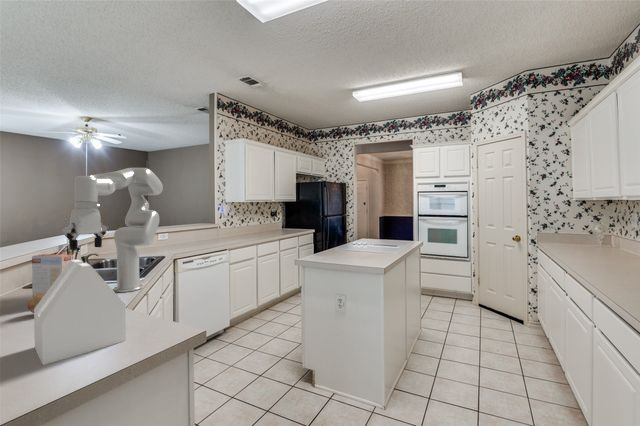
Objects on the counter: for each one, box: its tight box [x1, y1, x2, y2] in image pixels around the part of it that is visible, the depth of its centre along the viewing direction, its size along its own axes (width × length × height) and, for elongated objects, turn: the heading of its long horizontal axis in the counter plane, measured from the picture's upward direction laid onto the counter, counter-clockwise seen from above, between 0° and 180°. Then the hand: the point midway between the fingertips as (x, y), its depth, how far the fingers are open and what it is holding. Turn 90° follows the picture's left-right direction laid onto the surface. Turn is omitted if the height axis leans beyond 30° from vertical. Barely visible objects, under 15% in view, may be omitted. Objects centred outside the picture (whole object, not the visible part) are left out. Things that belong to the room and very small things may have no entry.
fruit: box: [27, 294, 45, 314], centre depth 117 cm, size 8×8×8 cm
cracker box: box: [31, 253, 74, 299], centre depth 132 cm, size 14×6×21 cm, turn 84°
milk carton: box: [33, 259, 127, 366], centre depth 92 cm, size 19×15×25 cm
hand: (86, 248), depth 124 cm, fingers open, 9 cm apart
